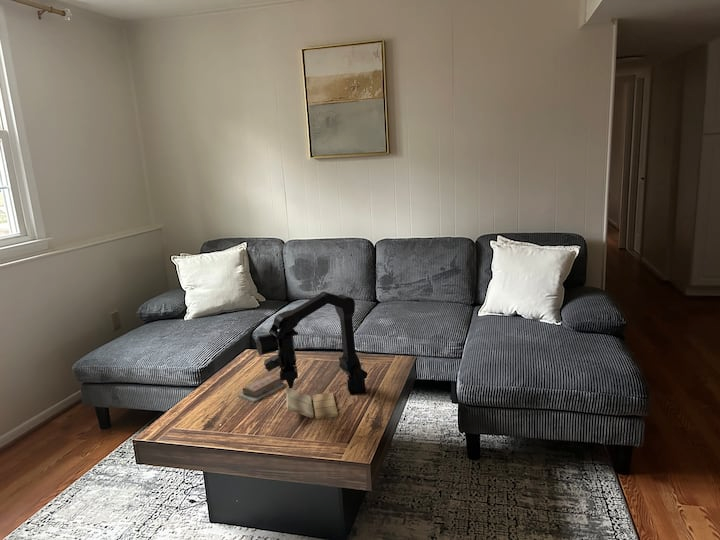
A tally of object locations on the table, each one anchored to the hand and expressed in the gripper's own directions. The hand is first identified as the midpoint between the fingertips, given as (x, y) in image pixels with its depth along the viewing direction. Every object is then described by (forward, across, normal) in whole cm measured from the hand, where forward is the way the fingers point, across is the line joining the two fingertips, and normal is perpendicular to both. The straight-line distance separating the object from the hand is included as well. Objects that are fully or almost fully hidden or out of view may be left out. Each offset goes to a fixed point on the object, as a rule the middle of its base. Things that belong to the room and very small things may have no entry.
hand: (290, 387), depth 196 cm
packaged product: (+10, -21, -12) cm, 26 cm away
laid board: (+9, 0, +12) cm, 15 cm away
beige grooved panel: (+7, 0, +2) cm, 7 cm away
